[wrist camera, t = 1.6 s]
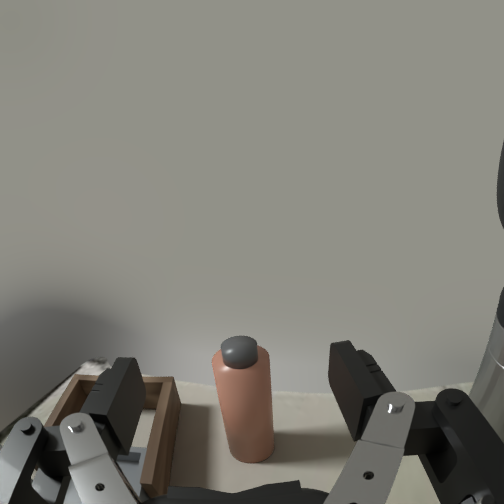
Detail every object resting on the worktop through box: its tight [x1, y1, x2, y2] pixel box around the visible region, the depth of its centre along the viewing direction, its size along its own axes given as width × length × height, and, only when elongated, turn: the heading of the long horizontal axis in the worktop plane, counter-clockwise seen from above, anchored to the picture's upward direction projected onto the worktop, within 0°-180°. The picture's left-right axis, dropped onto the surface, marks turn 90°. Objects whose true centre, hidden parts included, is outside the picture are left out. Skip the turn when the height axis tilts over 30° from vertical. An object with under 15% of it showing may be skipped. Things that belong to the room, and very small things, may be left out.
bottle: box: [212, 336, 274, 463], centre depth 28 cm, size 5×5×15 cm
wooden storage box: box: [35, 374, 181, 498], centre depth 29 cm, size 15×17×5 cm
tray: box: [63, 447, 150, 504], centre depth 18 cm, size 16×15×6 cm
